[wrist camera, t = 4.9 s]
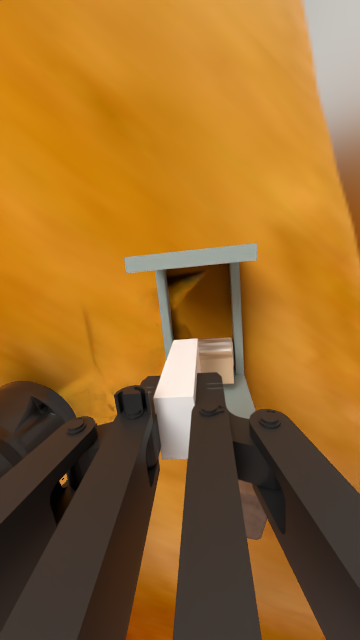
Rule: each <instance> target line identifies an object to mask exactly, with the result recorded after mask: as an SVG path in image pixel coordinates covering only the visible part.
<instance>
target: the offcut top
mask: <svg viewBox="0 0 360 640" xmlns="http://www.w3.org/2000/svg"><path fill="white" fill-rule="evenodd" d="M199 359H200V370H201V373H208V372H217V373H218V374H219V375H221V376H222V381H223V384H232V383H234V373H233V357H232V353H231V351H219V352H200V353H199Z"/></svg>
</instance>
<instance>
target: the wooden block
mask: <svg viewBox="0 0 360 640" xmlns="http://www.w3.org/2000/svg"><path fill="white" fill-rule="evenodd" d="M238 483H239V490H240V496H241V503H242V510H243V517H244V523H245V530H246V537H247V538H249V539H255V540H258V539H260V538H261V537H262V533H263V530H264V527H265V524H266V520H267V516H266V514H265V512H264V510H263V508H262V506H261V504H260V502H259V500H258V498H257V496H256V494H255V492H254V490H253V486H252V484H251V483H248V482H245V481H241V480H238Z"/></svg>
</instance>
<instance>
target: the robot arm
mask: <svg viewBox="0 0 360 640" xmlns="http://www.w3.org/2000/svg"><path fill="white" fill-rule="evenodd" d="M114 398H115V403H116V409H117V416H116V418H115V420H114V421H113V422H110V423H106V424H102V425H98V426H96V424H95V421H94V419H93V418H91V417H79V418H78V417H77V418H76V415H75V413H74V411H73V410H72V408H71V407H70V405H69V404H68V403H67V402H66V401H65V400H64V399H63V398H62V397H61V396H60V395H59V394H57V393H56V392H54V391H53V390H51V389H50V388H48V387H46V386H43V385H41V384H37V383H34V382H28V381H17V382H11V383H8V384H6V385H3V386H2V387H0V640H126V635H127V630H128V625H129V620H130V615H131V610H132V605H133V600H134V595H135V590H136V585H137V581H138V576H139V571H140V566H141V561H142V556H143V551H144V546H145V541H146V536H147V531H148V526H149V521H150V516H151V511H152V506H153V501H154V496H155V491H156V486H157V481H158V476H159V471H160V466H159V459H158V457H159V453H160V449H161V456H162V459H188V462H187V474H186V486H185V498H184V510H183V522H182V534H181V546H180V559H179V571H178V583H177V595H176V607H175V619H174V631H173V640H262V638H261V631H260V625H259V618H258V611H257V604H256V598H255V591H254V584H253V577H252V571H251V564H250V557H249V550H248V544H247V537H246V530H245V523H244V517H243V510H242V503H241V496H240V490H239V483H238V480H241V481H245V482H248V483H251V484H252V486H253V490H254V492H255V494H256V496H257V498H258V500H259V502H260V504H261V506H262V508H263V510H264V512H265V514H266V516H267V518H268V521H269V523H270V525H271V527H272V529H273V531H274V533H275V535H276V537H277V539H278V541H279V543H280V545H281V547H282V549H283V551H284V553H285V556H286V558H287V560H288V562H289V564H290V566H291V568H292V570H293V572H294V574H295V576H296V578H297V580H298V582H299V584H300V586H301V588H302V590H303V593H304V595H305V597H306V599H307V601H308V603H309V605H310V607H311V609H312V611H313V613H314V615H315V617H316V619H317V621H318V623H319V625H320V628H321V630H322V632H323V634H324V636H325V638H326V640H360V494H359V493H358V492H357V491H356V490H355V488H354V487H353V486H352V485H351V484H350V483H349V482H348V481H347V480H346V479H345V478H344V477H343V476H342V475H341V473H340V472H339V471H338V470H337V469H336V468H335V467H334V466H333V465H332V464H331V463H330V462H329V461H328V460H327V458H326V457H325V456H324V455H323V454H322V453H321V452H320V451H319V450H318V449H317V448H316V447H315V446H314V444H313V443H312V442H311V441H310V440H309V439H308V438H307V437H306V436H305V435H304V434H303V433H302V432H301V431H300V429H299V428H298V427H297V426H296V425H295V424H294V423H293V422H292V421H291V420H290V419H289V418H288V417H287V416H286V415H284V414H283V413H281V412H278V411H276V410H270V409H263V410H258V411H255V412H254V413H252V414H251V415H250V418H249V419H247V418H242V417H238V416H236V415H234V414H232V413H231V412H229V410H228V409H227V407H226V402H225V395H224V388H223V381H222V376H221V375H219V374H218V373H217V372H208V373H201V370H200V359H199V348H198V338H197V339H183V340H173V343H172V346H171V349H170V352H169V355H168V357H167V360H166V363H165V366H164V369H163V372H162V374H161V376H148V377H147V378H146V379H144V380H143V381H142V382H141V384H140V385H134V386H128V387H125V388H122V389H121V390H119V391H117V392H116V393H115V394H114ZM65 474H67V478H68V480H67V481H66V482H65V483H64V484H63V485H62V486H61V485H60V482H59V480H60V479H61V478H62V477H63V476H64V475H65Z"/></svg>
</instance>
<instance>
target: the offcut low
mask: <svg viewBox="0 0 360 640" xmlns="http://www.w3.org/2000/svg"><path fill="white" fill-rule="evenodd" d="M218 342H230V345H231V349H232V357H233V342H232V339H231V337H228V338H212V339H198V344H204V343H218ZM233 366H234V360H233Z"/></svg>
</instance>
